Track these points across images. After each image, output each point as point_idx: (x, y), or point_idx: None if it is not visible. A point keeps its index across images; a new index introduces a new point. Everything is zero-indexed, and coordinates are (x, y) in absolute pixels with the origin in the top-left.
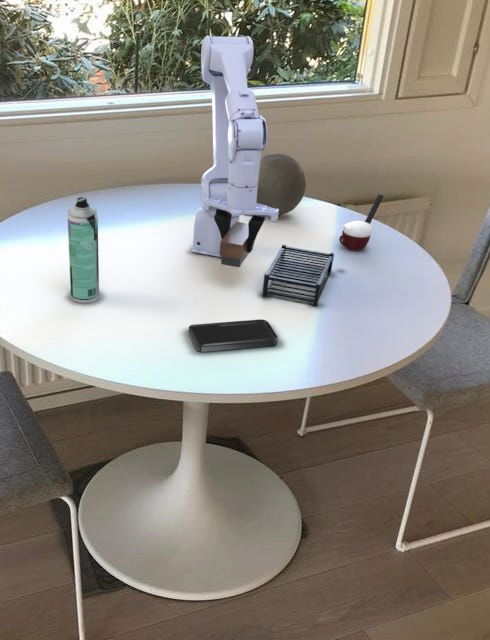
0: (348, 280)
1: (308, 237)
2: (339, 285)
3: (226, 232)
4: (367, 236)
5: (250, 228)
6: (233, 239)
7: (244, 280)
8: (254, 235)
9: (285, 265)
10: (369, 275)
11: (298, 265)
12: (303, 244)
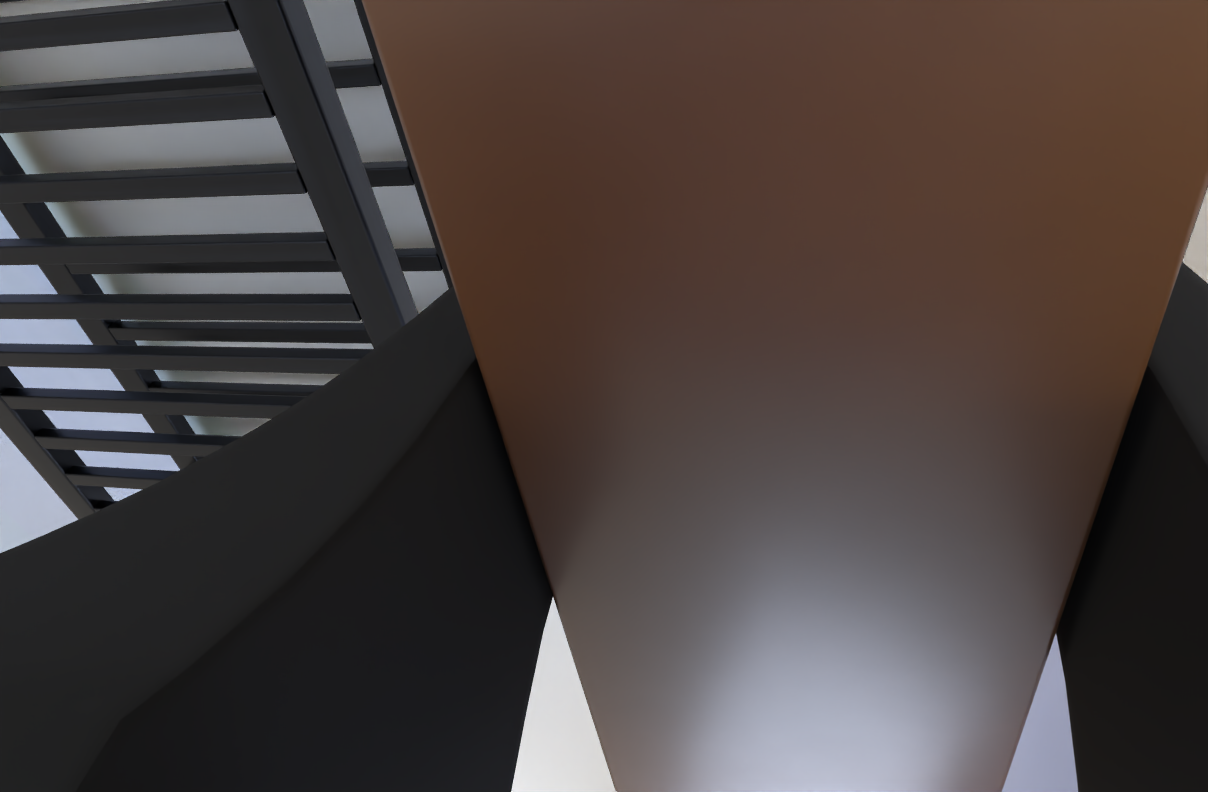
0: (82, 418)
1: (573, 756)
2: (62, 340)
3: (1132, 484)
4: None
5: (221, 573)
6: (797, 123)
7: None
8: (261, 432)
9: (254, 303)
10: (58, 502)
11: (173, 352)
12: (560, 702)
